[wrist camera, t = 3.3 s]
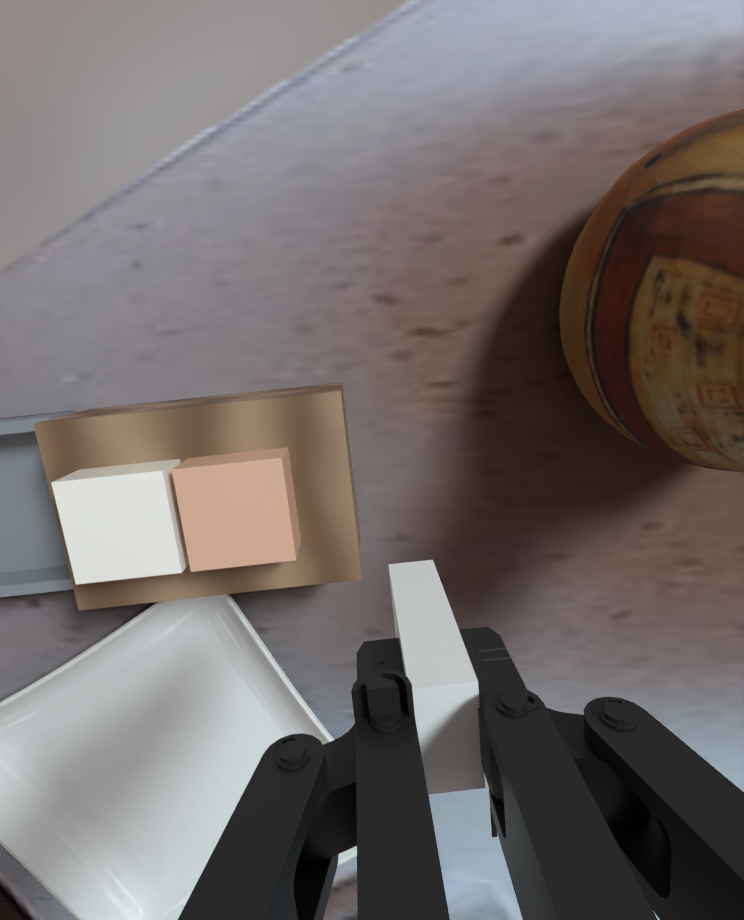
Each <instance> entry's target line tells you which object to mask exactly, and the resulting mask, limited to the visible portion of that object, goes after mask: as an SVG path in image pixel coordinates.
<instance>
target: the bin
mask: <svg viewBox="0 0 744 920" xmlns="http://www.w3.org/2000/svg"><path fill="white" fill-rule="evenodd" d="M73 413H77V411H68V412H58V413H49V414H39V415H30V416H20V417H11V418H1V419H0V597H8V596H18V595H27V594H36V593H45V592H54V591H63V590H72V589H73V585H72V581H71V577H70V573H69V569H68V565H67V560H66V556H65V552H64V548H63V544H62V540H61V536H60V532H59V528H58V523H57V519H56V515H55V511H54V507H53V503H52V499H51V495H50V490H49V486H48V482H47V478H46V474H45V470H44V466H43V462H42V458H41V453H40V449H39V445H38V441H37V437H36V433H35V429H34V425H33V423H37V422H41V421H45V420H49V419H53V418H57V417H61V416H65V415H69V414H73Z"/></svg>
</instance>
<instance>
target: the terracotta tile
mask: <svg viewBox="0 0 744 920" xmlns="http://www.w3.org/2000/svg"><path fill="white" fill-rule="evenodd" d="M172 475H173V480H174V485H175V491H176V496H177V501H178V507H179V512H180V517H181V523H182V528H183V533H184V538H185V544H186V549H187V554H188V560H189V565H190V570H191V572H195V571H204V570H213V569H222V568H231V567H240V566H249V565H258V564H267V563H276V562H286V561H295V560H296V559H297V555H298V552H299V548H300V544H301V537H300V529H299V522H298V515H297V508H296V501H295V493H294V486H293V479H292V472H291V464H290V457H289V450H288V447H286V448H277V449H268V450H258V451H249V452H240V453H230V454H221V455H211V456H202V457H193V458H187V459H186V460H185V461H183V462H182V463H180V464H179V465H177V466H176V467H175V468H173V469H172Z"/></svg>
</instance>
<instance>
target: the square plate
mask: <svg viewBox="0 0 744 920" xmlns="http://www.w3.org/2000/svg"><path fill="white" fill-rule="evenodd" d="M301 733H304V734H308V735H313V736H314V737H316V738H317V739H319V740H320V741H321V743H322V745H323V744H326V743H328V742H331V741H334V739H333V737H332V736H331V735H330V734H329V732H328V731H327V730H326V729H325V727H324V726H323V725H322V724H321V722H320V721H319V720H318V719H317V717H316V716H315V714H314V713H313V712H312V710H311V709H310V708H309V706H308V705H307V704H306V702H305V701H304V700H303V698H302V697H301V696H300V694H299V693H298V691H297V690H296V689H295V687H294V686H293V685H292V683H291V682H290V680H289V679H288V678H287V676H286V675H285V673H284V672H283V670H282V669H281V668H280V666H279V665H278V663H277V662H276V660H275V659H274V657H273V656H272V655H271V653H270V652H269V650H268V648H267V647H266V645H265V644H264V643H263V641H262V640H261V639H260V637H259V636H258V634H257V633H256V631H255V630H254V628H253V627H252V626H251V624H250V623H249V621H248V620H247V618H246V617H245V615H244V614H243V613H242V611H241V610H240V608H239V607H238V605H237V604H236V602H235V601H234V600H233V598H232V597H231V596H230V595H229V594H225V595H216V596H207V597H198V598H189V599H180V600H171V601H162V602H156V603H155V604H154V605H152V606H151V607H149V608H148V609H146V610H145V611H143V612H142V613H140V614H139V615H138V616H136V617H135V618H133V619H132V620H130V621H129V622H127V623H126V624H124V625H123V626H121V627H120V628H119V629H117V630H116V631H114V632H113V633H111V634H110V635H108V636H107V637H105V638H104V639H102V640H101V641H99V642H98V643H96V644H95V645H93V646H92V647H90V648H89V649H87V650H86V651H84V652H83V653H81V654H80V655H78V656H76V657H75V658H73V659H72V660H70V661H69V662H67V663H66V664H64V665H63V666H61V667H59V668H58V669H56V670H55V671H53V672H51V673H50V674H48V675H46V676H45V677H43V678H41V679H40V680H38V681H36V682H35V683H33V684H31V685H30V686H28V687H26V688H25V689H23V690H21V691H19V692H17V693H16V694H14V695H12V696H10V697H8V698H6V699H5V700H3V701H1V702H0V844H1V845H2V846H3V847H4V848H5V849H7V850H8V851H9V852H10V853H11V854H12V855H13V856H14V857H15V858H16V859H17V860H18V861H19V862H20V863H21V864H22V865H23V866H24V867H25V868H26V869H27V870H28V871H29V872H30V873H31V874H32V875H33V876H34V877H35V878H36V879H37V880H38V881H39V882H40V883H41V884H42V885H43V886H44V887H45V888H46V889H47V890H48V891H49V892H50V893H51V894H52V895H53V896H54V897H55V898H56V899H57V900H58V901H59V902H60V903H61V904H63V905H64V906H65V907H66V908H67V910H68V911H70V912H71V913H72V914H73V915H74V916H75V917H76V918H77V919H78V920H178V918H179V916H180V914H181V912H182V910H183V908H184V907H185V905H186V903H187V901H188V899H189V897H190V895H191V893H192V891H193V889H194V887H195V885H196V883H197V881H198V879H199V877H200V876H201V874H202V872H203V870H204V868H205V866H206V864H207V862H208V860H209V858H210V856H211V854H212V852H213V850H214V848H215V846H216V845H217V843H218V841H219V839H220V837H221V835H222V833H223V831H224V829H225V827H226V825H227V823H228V821H229V819H230V817H231V815H232V814H233V812H234V810H235V808H236V806H237V804H238V802H239V800H240V798H241V796H242V794H243V792H244V790H245V788H246V786H247V784H248V783H249V781H250V779H251V777H252V775H253V773H254V771H255V769H256V767H257V765H258V763H259V761H260V759H261V757H262V755H263V754H264V752H265V751H266V750H267V749H268V747H269V746H270V745H271V744H273V743H274V742H276V741H277V740H278V739H280V738H283V737H285V736H288V735H291V734H301ZM355 856H357V846H355V847H353V848H351V849H349V850H347V851H344V852H342V853H340V854H339V856H338V865H337V867H338V866H339V865H341V864H343V863H345V862H346V861H348V860H350V859H352V858H354V857H355Z"/></svg>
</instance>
